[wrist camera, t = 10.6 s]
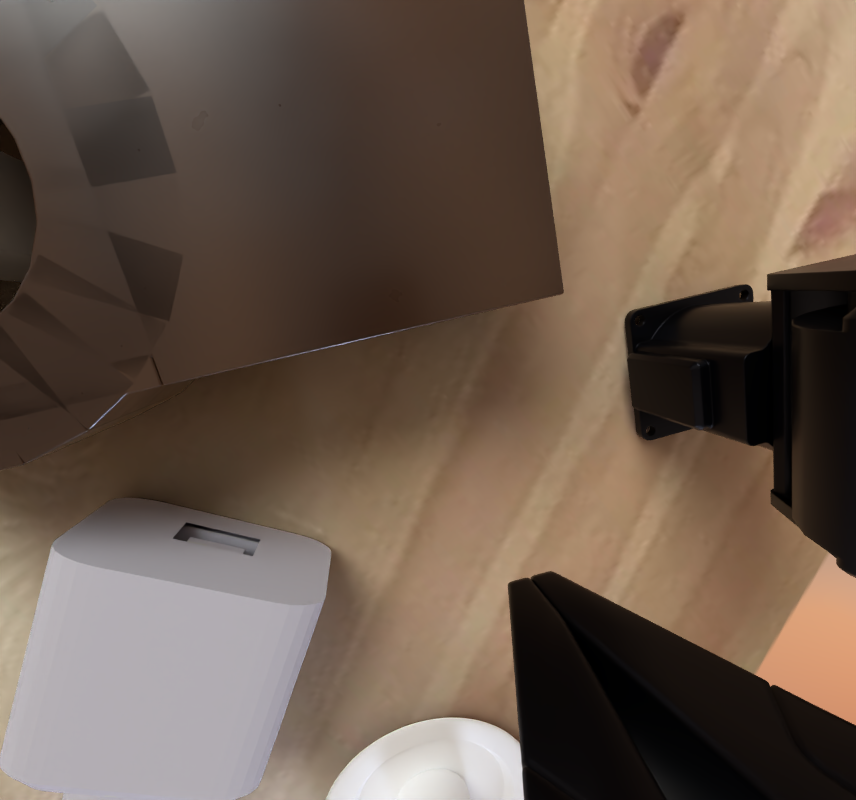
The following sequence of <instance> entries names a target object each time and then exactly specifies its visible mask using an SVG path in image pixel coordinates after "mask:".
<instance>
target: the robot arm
mask: <svg viewBox="0 0 856 800" xmlns="http://www.w3.org/2000/svg"><path fill="white" fill-rule="evenodd" d="M767 290H771V301H766V302H753V290H752V288H751V287H750V286H749V285H735V286H731V287H727V288H722V289H718V290H714V291H710V292H706V293H702V294H697V295H693V296H689V297H685V298H681V299H677V300H672V301H668V302H664V303H660V304H656V305H652V306H647V307H643V308H639V309H635V310H632V311H630V312H629V313H628V314H627V316H626V318H625V328H626V338H627V347H628V359H627V361H628V370H629V380H630V389H631V398H632V406H633V407H634V414H635V423H636V432H637V435H638V436H639V437H641V438H643V439H646V440H654V439H657V438H661V437H664V436H668V435H672V434H675V433H679V432H682V431H686V430H689V429H696V430H704V431H707V432H710V433H713V434H716V435H719V436H722V437H725V438H728V439H731V440H735V441H738V442H741V443H744V444H747V445H750V446H756V445H758V446H761V447H764V448H767V449H770V450H773V464H774V489H772V490H771V504H772V505H773V506H774V507H775V508H776V509H777V510H779V511H780V512H781V513H782V514H783V515H785V516H786V517H787V518H788V519H789V520H791V521H792V522H793V523H794V524H796V525H797V526H798V527H799V528H800V529H801V531H802V532H803V533H804V535H805V536H807V537H808V538H810V539H811V540H813V541H814V542H815V543H817V544H818V545H820V546H821V547H822V548H824V549H825V550H827V551H828V552H829V553H831V554H832V555H833V556H834V557H835V558H837V560H836V561H837V562H836V563H837V565H838V567H839V568H841V569H842V570H843V571H845V572H846V573H848V574H849V575H851V576H853V577H855V578H856V254H855V255H850V256H846V257H842V258H837V259H833V260H828V261H824V262H819V263H815V264H810V265H806V266H802V267H797V268H793V269H788V270H784V271H779V272H775V273H770V274H767ZM740 292H741V297H740V298H739V294H740ZM637 316H638V317H639V323H638V324H637V325H636V323H635V319H636V317H637ZM649 426H650V430H649V431H648V432H647V433H646V429H647V428H648V427H649ZM508 594H509V607H510V620H511V633H512V646H513V659H514V672H515V685H516V698H517V711H518V724H519V737H520V750H521V763H522V769H523V770H522V781H523V794H524V800H856V725H854V724H852V723H850V722H848V721H846V720H844V719H842V718H839V717H837V716H836V715H834V714H831V713H829V712H827V711H825V710H823V709H821V708H819V707H817V706H815V705H813V704H811V703H809V702H807V701H805V700H803V699H801V698H800V697H798V696H796V695H793V694H792V693H790V692H788V691H785V690H783V689H782V688H780V687H778V686H776V685H772V686H771V687H770V685H769V683H768V682H767V681H766V680H763V679H762V678H760V677H758V676H756V675H754V674H752V673H750V672H748V671H746V670H744V669H742V668H740V667H739V666H737V665H735V664H733V663H731V662H729V661H727V660H725V659H723V658H721V657H719V656H717V655H715V654H713V653H711V652H709V651H707V650H705V649H703V648H701V647H699V646H697V645H696V644H694V643H692V642H690V641H688V640H686V639H684V638H682V637H680V636H678V635H676V634H674V633H672V632H670V631H668V630H666V629H664V628H662V627H660V626H658V625H656V624H655V623H653V622H651V621H649V620H647V619H645V618H643V617H641V616H639V615H637V614H635V613H633V612H631V611H629V610H627V609H625V608H623V607H621V606H619V605H617V604H615V603H614V602H612V601H610V600H608V599H606V598H604V597H602V596H600V595H598V594H596V593H594V592H592V591H590V590H588V589H586V588H584V587H582V586H580V585H578V584H576V583H574V582H573V581H571V580H569V579H567V578H565V577H563V576H561V575H559V574H557V573H555V572H552V571H549V572H545V573H541V574H537V575H534V576H532V577H531V579H530V578H523V579H519V580H515V581H512V582H510V583H509V584H508Z"/></svg>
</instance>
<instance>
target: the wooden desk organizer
mask: <svg viewBox="0 0 856 800" xmlns="http://www.w3.org/2000/svg"><path fill="white" fill-rule="evenodd" d="M0 123H4V124H5V126H6V127H7V129H8V130H9V132H10V133H11V135H12V136H13V137H14V140H15V142H16V145H17V147H18V150H19V152H20V155H21V157H22V160H23V162H24V164H25V167H26V169H27V172H28V174H29V177H30V179H31V183H32V191H33V198H34V206H35V214H36V222H37V225H36V231H35V237H34V243H33V250H32V256H31V262H30V268H29V270H28V272H27V273H26V275H25V277H24V279H23V281H22V283H21V285H20V287H19V289H18V291H17V293H16V295H15V297H14V299H13V300H12V301H11V302H10V303H9V304H8V305H7V306H6V307H5V308H4V309H3V310H2V311H1V312H0V470H4V469H8V468H12V467H17V466H21V465H24V464H27V463H29V462H32V461H34V460H36V459H39V458H41V457H43V456H45V455H48V454H50V453H52V452H55V451H57V450H59V449H62V448H64V447H66V446H68V445H71V444H73V443H75V442H78V441H80V440H82V439H84V438H87V437H89V436H91V435H94V434H96V433H98V432H101V431H103V430H105V429H107V428H110V427H112V426H114V425H117V424H119V423H121V422H124V421H126V420H128V419H130V418H133V417H135V416H137V415H140V414H142V413H144V412H145V411H147V410H149V409H151V408H153V407H155V406H157V405H159V404H161V403H162V402H164V401H166V400H168V399H170V398H172V397H174V396H176V395H178V394H179V393H180V392H182V391H183V390H184V389H185V388H186V387H187V386H188V385H189V384H191V383H192V382H193V381H194V380H195V379H196V378H200V377H205V376H209V375H213V374H218V373H222V372H226V371H231V370H235V369H240V368H244V367H248V366H253V365H257V364H261V363H266V362H270V361H274V360H279V359H283V358H287V357H292V356H296V355H300V354H305V353H309V352H313V351H318V350H322V349H326V348H331V347H335V346H339V345H344V344H348V343H352V342H357V341H361V340H365V339H370V338H374V337H378V336H383V335H387V334H391V333H396V332H400V331H404V330H409V329H413V328H417V327H422V326H426V325H430V324H435V323H439V322H443V321H448V320H452V319H456V318H461V317H465V316H469V315H474V314H478V313H482V312H487V311H491V310H495V309H500V308H504V307H508V306H513V305H517V304H522V303H526V302H530V301H535V300H539V299H543V298H548V297H552V296H556V295H561V294H563V292H564V290H563V283H562V276H561V268H560V261H559V254H558V246H557V239H556V232H555V224H554V217H553V210H552V203H551V195H550V188H549V181H548V173H547V166H546V159H545V152H544V144H543V137H542V130H541V122H540V115H539V108H538V100H537V93H536V86H535V79H534V71H533V64H532V57H531V49H530V42H529V35H528V27H527V20H526V13H525V6H524V0H0Z"/></svg>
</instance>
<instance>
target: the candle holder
mask: <svg viewBox="0 0 856 800" xmlns="http://www.w3.org/2000/svg"><path fill="white" fill-rule="evenodd" d="M522 770H523V769H522V763H521V750H520V743H519V742H518V741H517V740H516V739H515V738H514V737H513V736H511V735H510V734H509V733H507V732H506V731H504V730H502V729H500V728H499V727H497V726H494V725H492V724H489V723H486V722H483V721H479V720H475V719H468V718H437V719H431V720H425V721H421V722H417V723H414V724H410V725H407V726H405V727H402V728H399V729H397V730H395V731H393V732H391V733H389V734H387V735H385V736H383V737H381V738H380V739H378V740H376V741H375V742H373V743H372V744H370V745H369V746H367V747H366V748H365V749H364V750H362V751H361V752H360V753H359V754H358V755H356V756H355V757H354V758H353V759H352V760H351V761H350V762H349V763H348V764H347V766H346V767H345V768H344V769H343V770H342V772H341V773H340V774H339V776H338V777H337V779H336V780H335V782H334V783H333V785H332V787H331V789H330V791H329V793H328V795H327V798H326V800H524V794H523V781H522Z"/></svg>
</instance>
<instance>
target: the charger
mask: <svg viewBox="0 0 856 800" xmlns="http://www.w3.org/2000/svg"><path fill="white" fill-rule="evenodd" d="M330 560H331V550H330V549H329V548H328V547H327V546H326V545H324V544H322V543H321V542H319V541H317V540H314V539H311V538H309V537H306V536H302V535H298V534H295V533H290V532H286V531H282V530H278V529H274V528H269V527H265V526H261V525H257V524H253V523H248V522H244V521H240V520H236V519H232V518H227V517H223V516H219V515H215V514H211V513H206V512H202V511H198V510H194V509H190V508H185V507H181V506H177V505H173V504H169V503H164V502H159V501H154V500H148V499H140V498H117V499H113V500H110V501H108V502H107V503H105V504H104V505H103V506H101V507H100V508H98V509H97V510H96V511H94V512H93V513H92V514H90V515H89V516H87V517H86V518H85V519H83V520H82V521H81V522H79V523H78V524H76V525H75V526H74V527H72V528H71V529H69V530H68V531H67V532H65V533H64V534H63V535H61V536H60V537H58V538H57V539H56V540H55V541H54V542H53V544H52V546H51V550H50V554H49V558H48V562H47V567H46V571H45V575H44V579H43V583H42V587H41V591H40V595H39V599H38V603H37V607H36V611H35V616H34V620H33V624H32V628H31V632H30V636H29V640H28V644H27V648H26V652H25V656H24V660H23V665H22V669H21V673H20V677H19V681H18V685H17V689H16V693H15V697H14V701H13V705H12V709H11V714H10V718H9V722H8V726H7V730H6V734H5V738H4V742H3V746H2V750H1V754H0V767H1V770H3V771H4V772H5V773H6V774H7V775H8V776H9V777H11V778H13V779H15V780H17V781H19V782H21V783H23V784H25V785H27V786H29V787H31V788H34V789H36V790H41V791H48V792H59V793H64V794H63V798H62V800H235V799H238V798H241V797H243V796H246V795H248V794H250V793H251V792H253V791H254V790H255V789H256V788H258V786H259V784H260V782H261V780H262V777H263V774H264V771H265V768H266V765H267V763H268V760H269V757H270V754H271V751H272V748H273V745H274V743H275V740H276V737H277V734H278V731H279V728H280V726H281V723H282V720H283V717H284V714H285V711H286V708H287V706H288V703H289V700H290V697H291V694H292V691H293V689H294V686H295V683H296V680H297V677H298V674H299V671H300V669H301V666H302V663H303V660H304V657H305V654H306V652H307V649H308V646H309V643H310V640H311V637H312V635H313V632H314V629H315V626H316V623H317V620H318V617H319V615H320V612H321V609H322V606H323V603H324V600H325V598H326V591H327V584H328V576H329V568H330Z"/></svg>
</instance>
